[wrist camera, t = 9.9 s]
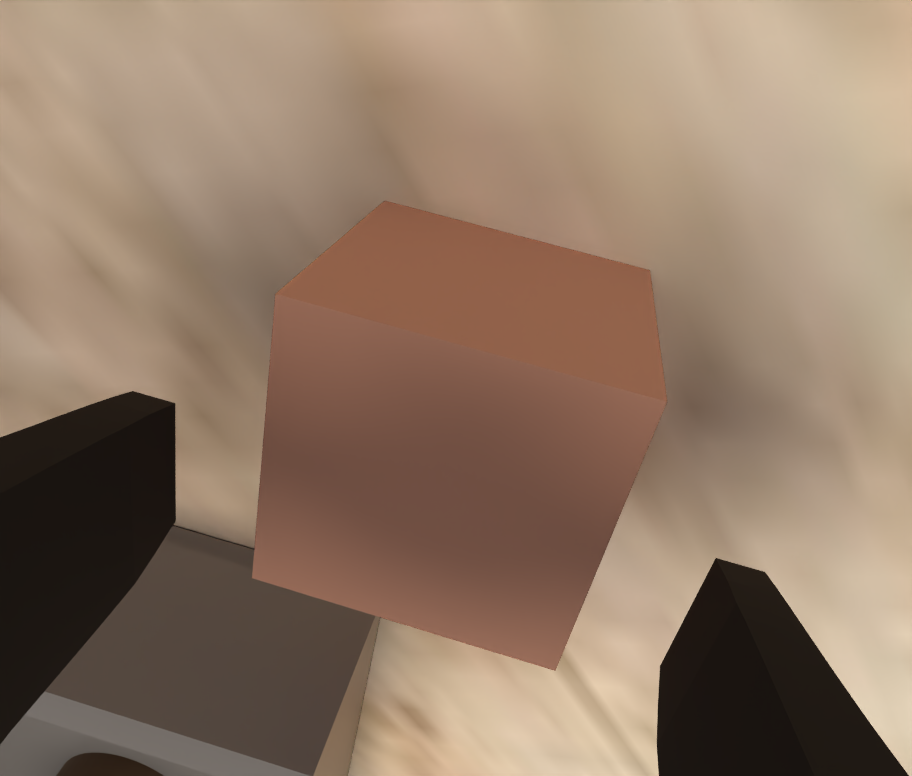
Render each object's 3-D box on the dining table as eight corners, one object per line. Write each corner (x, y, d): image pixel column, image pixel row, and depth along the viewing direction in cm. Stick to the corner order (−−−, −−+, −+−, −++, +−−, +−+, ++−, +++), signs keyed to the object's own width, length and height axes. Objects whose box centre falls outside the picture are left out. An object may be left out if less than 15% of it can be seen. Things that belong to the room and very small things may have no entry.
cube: (351, 421, 16) (251, 578, 11) (385, 199, 13) (275, 293, 9) (571, 484, 15) (555, 670, 11) (649, 268, 13) (667, 402, 9)
